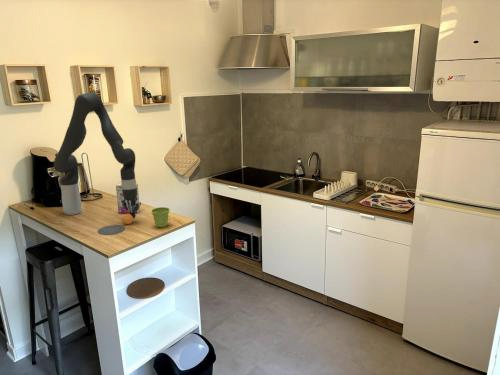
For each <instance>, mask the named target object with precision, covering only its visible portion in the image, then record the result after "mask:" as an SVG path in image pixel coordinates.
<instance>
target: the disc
mask: <svg viewBox="0 0 500 375" xmlns="http://www.w3.org/2000/svg"><path fill="white" fill-rule="evenodd" d="M125 228H126V227H125V226H124V225H121V224H112V225H106V226H102V227H101V228H99V229H98V230H97V233H98V234H99V235H102V236H113V235H117V234H119V233H122V232H124V231H125Z"/></svg>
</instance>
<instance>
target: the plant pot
mask: <svg viewBox="0 0 500 375" xmlns="http://www.w3.org/2000/svg"><path fill="white" fill-rule="evenodd" d="M170 209H171V208H170V207H162V206H160V207H154V208H152V209H151V210H150V212H151V214H152V216H153V220H154V225H155V228H159V227H161V228H166V227H167V226H168V224H169V223H168V222H169V213H170V211H171V210H170Z"/></svg>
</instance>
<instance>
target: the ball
mask: <svg viewBox="0 0 500 375" xmlns="http://www.w3.org/2000/svg"><path fill="white" fill-rule="evenodd" d="M121 221H122V223H123V224H125V225H129V224H132V222H133V221H134V219H133V216H132V215H131V214H130V213H123V215H122V217H121Z"/></svg>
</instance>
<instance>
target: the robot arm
mask: <svg viewBox="0 0 500 375" xmlns="http://www.w3.org/2000/svg"><path fill="white" fill-rule="evenodd" d="M92 112H94V113H95V115H96V116H97V117H98V120H99V122H100V128H101V133H102V135H103V138H104V139H105V141H106V142H107V143H108V145H109V146H110V149H111V152H112V154H113V156H114V159H115V160H116V161H117V162H118V163H119V164H120V165H122V167H121V168H120V179H121V180H120V182H121V183H120V184H121V186H122V194H123V197H124V200H122V201H121V202H122V204H123V206H124V207H125V209H126V210H128V211H129V213H128V214H131V215H132V216H133V220H134V219H135V218H136V216H137V214H136V213H135V211H137V210H138V209H139V207H141V206H142V202H141V201H139V202H138V199H137V194H138V193H139V192H138V193H137V184H138V183H137V180H136V172H135V167H136V153H135V151H134V150H133V149H132V148H130V147H129V148H124V146H123V144H124V139H123V137H122V136H121V134H120V133H119V131H118V130H117V128H116V127H115V126H114V124H113V121H112V120H111V117H110V114H108V111H107V109H106V106H105V105H104V103H103V100H102V98H101V97H100V96H99V94H97V93H96V92H93V91H92V92H86V93H81V94H79V95H78V96H76V99H75V102H74V105H73V111H72V115H71V118H70V121H69V124H68V127H67V129H66V132H65V135H64V138H63V140H62V143H61V145H60V148H59V149H58V152H57V154H56V155H55V158H54V160H53V169H54V170H55V172H57V173H58V174H64V173H65V175H64V176H63V177H62V178H60V180H59V182H60V184H59V185H60V189H61V203H62V210H63V213H64V214H65V215H68V216H71V215H77V214H80V213H82V212H83V208H82V200H81V199H82V198H81V192H80V186H79V185H80V184H79V179H80V178H79V176H80V173H79V163H78V160H77V158H76V156H75V155H74V152H76V151H77V150H78V149H79V148H80V147H81V146H82V145H83V143H84V140H85V138H86V136H87V127H86V125H85V122H86V119H87V116H88V115H89V114H91V113H92Z"/></svg>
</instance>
